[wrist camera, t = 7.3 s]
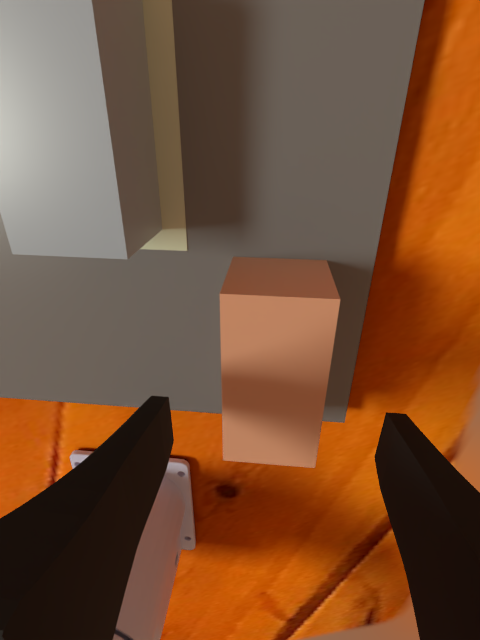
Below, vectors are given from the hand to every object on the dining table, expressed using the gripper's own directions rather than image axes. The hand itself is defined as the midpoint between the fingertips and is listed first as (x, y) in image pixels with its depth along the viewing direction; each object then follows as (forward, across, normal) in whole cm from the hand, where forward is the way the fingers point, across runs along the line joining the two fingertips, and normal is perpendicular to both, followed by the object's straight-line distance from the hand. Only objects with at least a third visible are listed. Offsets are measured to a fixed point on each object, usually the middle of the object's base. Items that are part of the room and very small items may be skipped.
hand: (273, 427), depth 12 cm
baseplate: (+7, +8, -4) cm, 11 cm away
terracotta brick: (+6, 0, 0) cm, 6 cm away
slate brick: (+6, +7, -9) cm, 13 cm away
